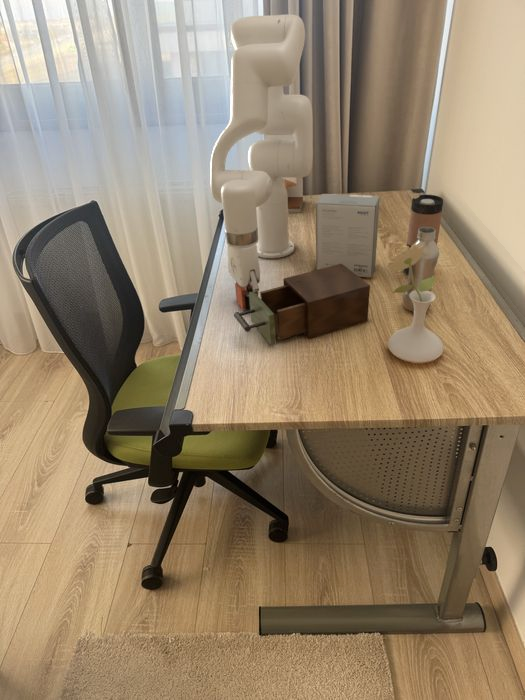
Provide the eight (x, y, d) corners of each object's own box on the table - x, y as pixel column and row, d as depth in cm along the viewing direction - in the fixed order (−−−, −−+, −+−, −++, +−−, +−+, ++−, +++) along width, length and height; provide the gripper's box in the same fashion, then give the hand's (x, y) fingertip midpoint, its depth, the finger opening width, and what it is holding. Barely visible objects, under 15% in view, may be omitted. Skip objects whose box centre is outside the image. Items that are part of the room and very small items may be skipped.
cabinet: (308, 339, 116) (308, 302, 110) (284, 313, 125) (283, 278, 120) (367, 321, 120) (370, 285, 115) (340, 297, 130) (341, 263, 124)
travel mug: (433, 279, 135) (445, 205, 123) (403, 278, 136) (412, 204, 124) (431, 266, 141) (442, 194, 129) (403, 265, 142) (411, 194, 130)
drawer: (250, 351, 111) (247, 321, 107) (231, 326, 120) (228, 297, 116) (328, 328, 117) (329, 298, 113) (305, 305, 126) (305, 277, 121)
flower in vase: (432, 335, 114) (450, 228, 99) (449, 366, 105) (471, 254, 90) (374, 339, 114) (383, 233, 99) (386, 370, 105) (397, 259, 90)
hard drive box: (375, 266, 143) (381, 195, 131) (371, 278, 137) (376, 206, 125) (321, 260, 147) (322, 192, 136) (314, 273, 141) (315, 202, 130)
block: (236, 302, 131) (234, 283, 128) (252, 297, 132) (251, 279, 129) (243, 310, 128) (241, 290, 124) (259, 305, 129) (257, 286, 126)
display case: (267, 212, 181) (262, 104, 161) (272, 201, 189) (267, 97, 169) (300, 212, 179) (298, 103, 159) (303, 201, 188) (301, 96, 167)
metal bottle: (398, 303, 126) (406, 225, 114) (425, 300, 126) (436, 223, 115) (406, 316, 121) (416, 237, 109) (434, 314, 121) (447, 234, 109)
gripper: (215, 226, 124) (222, 292, 135) (240, 252, 112) (246, 323, 122) (243, 220, 127) (248, 285, 137) (271, 245, 114) (275, 315, 124)
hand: (247, 302), depth 130 cm, fingers closed on block, 4 cm apart
